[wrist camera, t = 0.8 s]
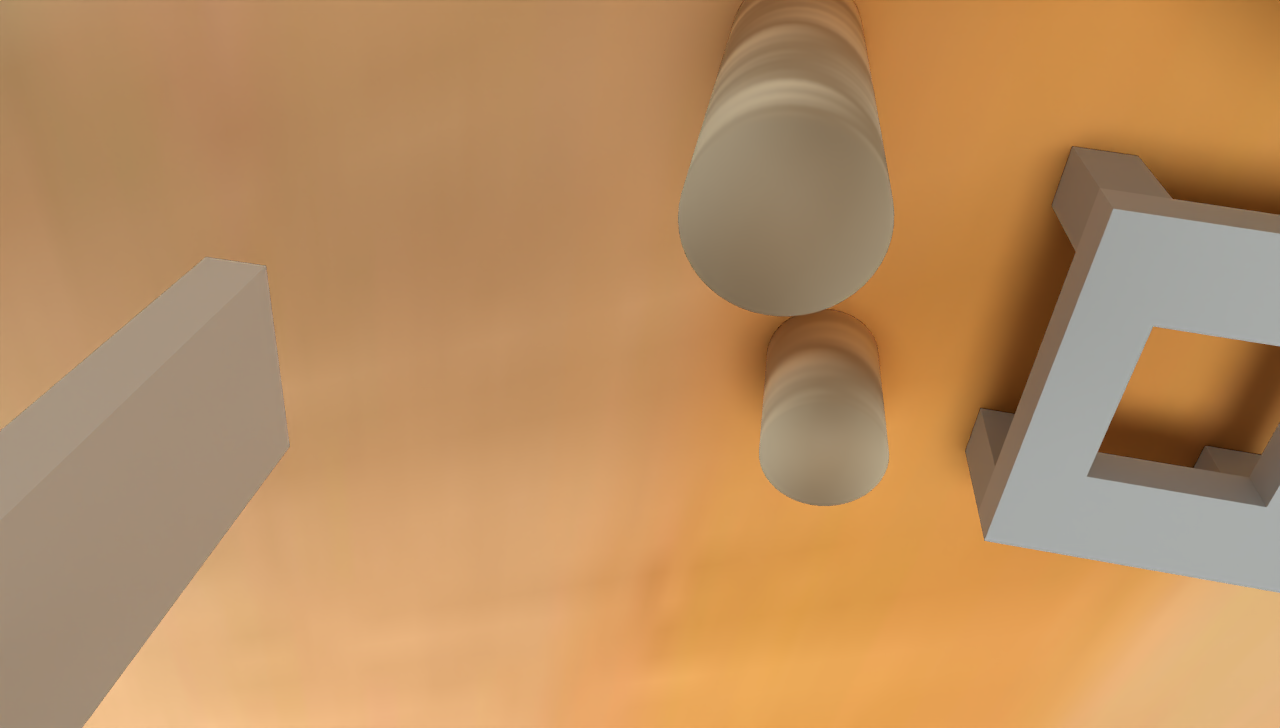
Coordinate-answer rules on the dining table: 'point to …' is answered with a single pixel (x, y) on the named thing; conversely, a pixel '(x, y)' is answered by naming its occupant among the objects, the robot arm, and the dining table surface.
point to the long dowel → (789, 163)
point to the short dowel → (823, 410)
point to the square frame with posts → (1100, 370)
